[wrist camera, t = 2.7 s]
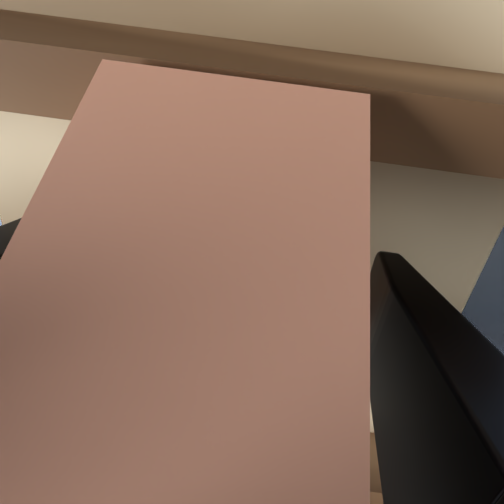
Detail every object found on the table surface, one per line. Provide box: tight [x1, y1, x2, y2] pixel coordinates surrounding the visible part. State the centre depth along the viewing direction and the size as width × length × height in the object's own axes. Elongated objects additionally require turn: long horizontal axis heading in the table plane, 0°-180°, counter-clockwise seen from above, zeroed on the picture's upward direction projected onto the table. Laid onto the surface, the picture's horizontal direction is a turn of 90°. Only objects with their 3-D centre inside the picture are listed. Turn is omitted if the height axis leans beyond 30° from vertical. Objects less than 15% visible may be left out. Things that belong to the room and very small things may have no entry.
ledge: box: [0, 0, 504, 504], centre depth 9 cm, size 24×12×4 cm, turn 174°
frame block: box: [0, 59, 370, 504], centre depth 8 cm, size 7×4×6 cm, turn 174°
